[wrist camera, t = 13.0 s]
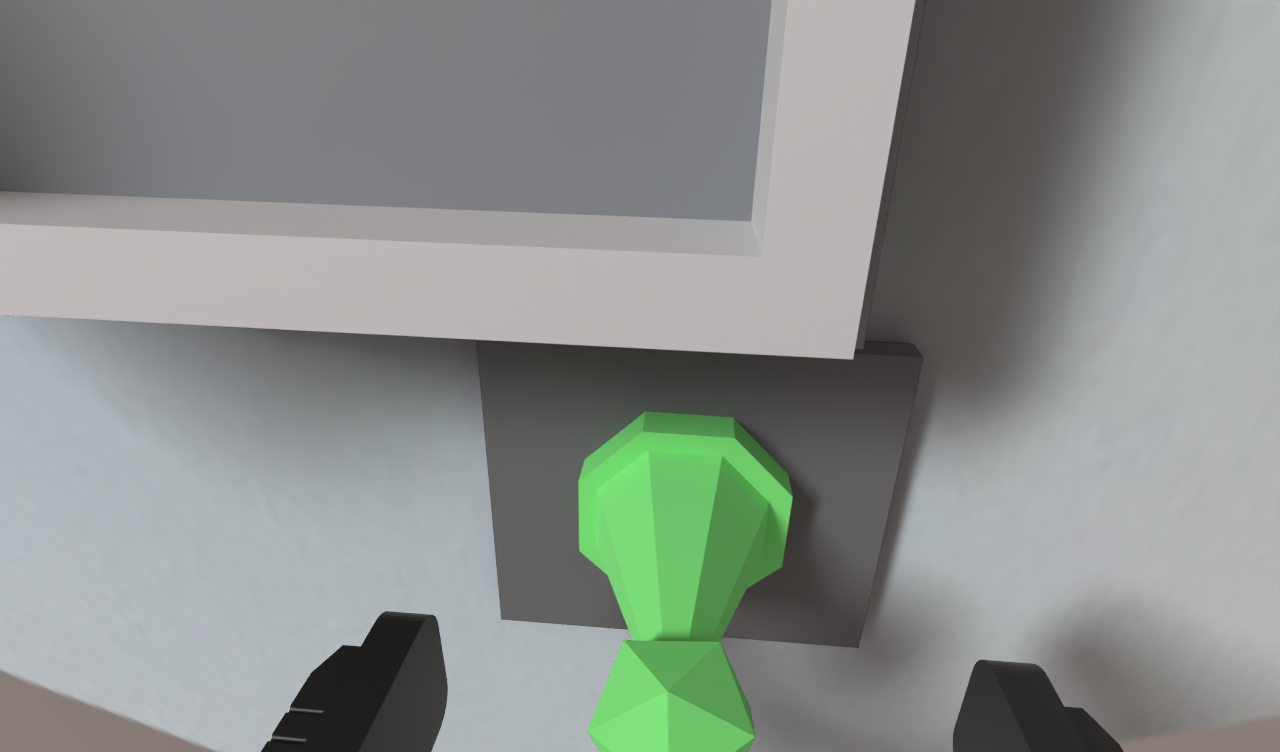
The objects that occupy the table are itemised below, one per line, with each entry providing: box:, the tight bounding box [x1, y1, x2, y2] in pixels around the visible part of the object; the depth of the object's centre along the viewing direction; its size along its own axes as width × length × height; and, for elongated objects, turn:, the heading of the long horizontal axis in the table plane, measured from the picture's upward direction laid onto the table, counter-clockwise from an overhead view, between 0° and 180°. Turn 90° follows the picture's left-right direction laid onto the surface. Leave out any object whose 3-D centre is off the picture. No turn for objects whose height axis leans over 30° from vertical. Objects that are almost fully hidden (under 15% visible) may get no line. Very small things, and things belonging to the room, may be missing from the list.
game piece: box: [578, 412, 793, 752], centre depth 11 cm, size 4×4×6 cm
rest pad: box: [476, 340, 923, 648], centre depth 14 cm, size 8×7×1 cm
